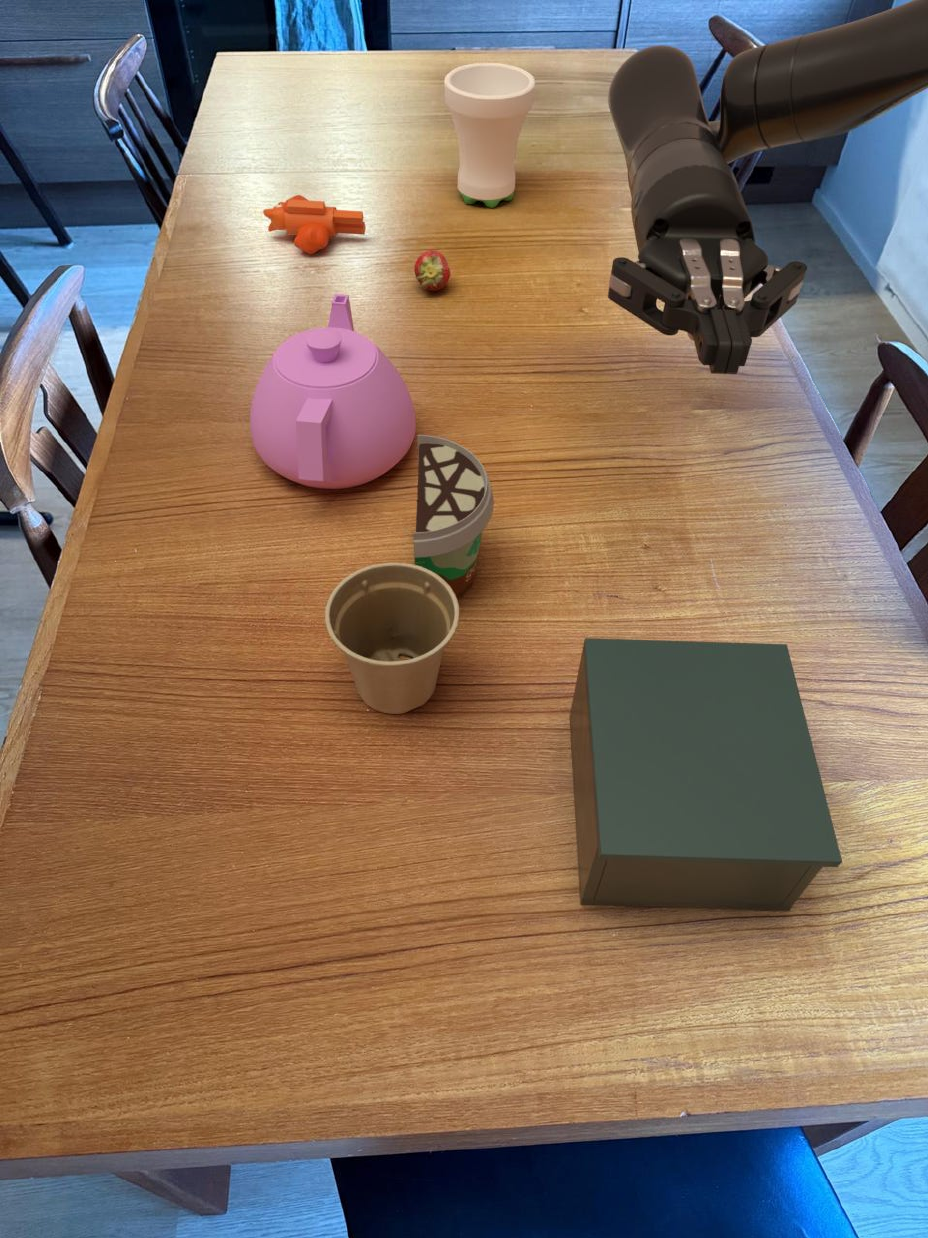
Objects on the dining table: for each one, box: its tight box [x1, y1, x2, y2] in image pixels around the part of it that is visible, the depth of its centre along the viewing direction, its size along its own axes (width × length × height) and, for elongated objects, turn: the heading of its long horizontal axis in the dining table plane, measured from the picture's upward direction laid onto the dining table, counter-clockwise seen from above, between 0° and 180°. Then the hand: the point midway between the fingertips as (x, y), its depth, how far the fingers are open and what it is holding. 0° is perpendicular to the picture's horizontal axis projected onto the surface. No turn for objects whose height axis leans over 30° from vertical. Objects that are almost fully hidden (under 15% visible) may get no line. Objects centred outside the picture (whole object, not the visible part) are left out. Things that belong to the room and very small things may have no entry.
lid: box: [583, 637, 843, 868], centre depth 56 cm, size 16×14×1 cm
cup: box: [443, 62, 536, 209], centre depth 115 cm, size 11×11×14 cm
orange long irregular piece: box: [262, 194, 366, 255], centre depth 110 cm, size 5×8×12 cm
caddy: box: [569, 645, 823, 912], centre depth 60 cm, size 15×14×9 cm
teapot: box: [249, 293, 417, 490], centre depth 83 cm, size 22×16×12 cm
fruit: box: [413, 249, 451, 292], centre depth 104 cm, size 4×6×5 cm
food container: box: [412, 434, 495, 600], centre depth 73 cm, size 12×6×10 cm, turn 0°
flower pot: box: [324, 561, 460, 715], centre depth 66 cm, size 9×9×9 cm
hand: (727, 361), depth 52 cm, fingers closed
